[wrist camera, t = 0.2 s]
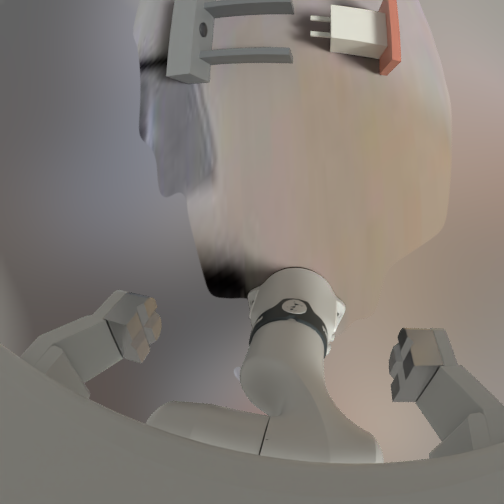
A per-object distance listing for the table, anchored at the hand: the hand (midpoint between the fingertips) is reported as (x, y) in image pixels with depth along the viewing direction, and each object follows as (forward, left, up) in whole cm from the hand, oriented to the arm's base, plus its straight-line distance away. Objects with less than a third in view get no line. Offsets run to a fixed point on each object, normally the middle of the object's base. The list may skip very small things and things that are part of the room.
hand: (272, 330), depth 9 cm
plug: (+25, -6, -40) cm, 47 cm away
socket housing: (+25, +12, -40) cm, 48 cm away
